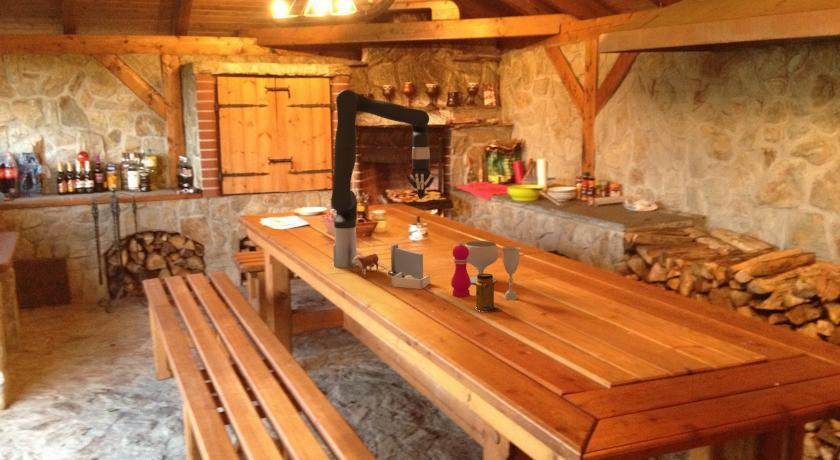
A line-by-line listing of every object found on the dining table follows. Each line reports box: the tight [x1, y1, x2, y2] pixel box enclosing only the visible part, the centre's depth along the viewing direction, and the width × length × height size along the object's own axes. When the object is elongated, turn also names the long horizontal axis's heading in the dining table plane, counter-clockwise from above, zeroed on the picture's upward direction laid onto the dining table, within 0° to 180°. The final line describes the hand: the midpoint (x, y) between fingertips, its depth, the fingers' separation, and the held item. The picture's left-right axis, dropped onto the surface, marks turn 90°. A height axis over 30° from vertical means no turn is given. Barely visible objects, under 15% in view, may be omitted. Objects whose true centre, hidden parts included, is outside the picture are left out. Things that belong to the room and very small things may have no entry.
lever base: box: [387, 270, 398, 277], centre depth 294 cm, size 6×6×1 cm
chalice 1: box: [464, 240, 500, 285], centre depth 278 cm, size 14×14×15 cm
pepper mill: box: [450, 240, 472, 298], centre depth 258 cm, size 7×7×20 cm
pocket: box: [390, 272, 431, 290], centre depth 275 cm, size 13×9×4 cm
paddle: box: [390, 243, 424, 279], centre depth 286 cm, size 20×3×11 cm, turn 37°
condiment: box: [475, 272, 503, 313], centre depth 241 cm, size 7×8×12 cm
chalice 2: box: [501, 246, 521, 301], centre depth 254 cm, size 7×7×18 cm
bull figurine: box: [352, 253, 379, 276], centre depth 296 cm, size 4×13×8 cm, turn 137°
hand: (421, 197), depth 307 cm, fingers closed
